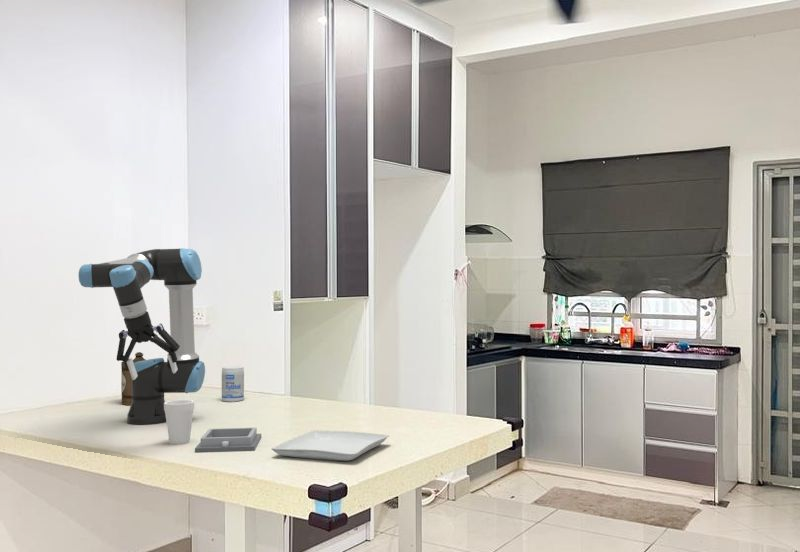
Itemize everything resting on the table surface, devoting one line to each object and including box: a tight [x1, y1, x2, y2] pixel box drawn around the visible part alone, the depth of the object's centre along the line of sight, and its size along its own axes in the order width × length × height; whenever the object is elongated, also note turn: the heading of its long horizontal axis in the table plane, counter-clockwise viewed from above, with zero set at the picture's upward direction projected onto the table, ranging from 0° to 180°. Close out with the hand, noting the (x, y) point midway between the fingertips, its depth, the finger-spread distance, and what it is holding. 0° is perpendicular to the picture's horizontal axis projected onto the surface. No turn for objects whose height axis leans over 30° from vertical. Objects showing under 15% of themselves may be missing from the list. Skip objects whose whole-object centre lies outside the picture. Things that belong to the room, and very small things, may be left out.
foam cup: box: [164, 399, 195, 445], centre depth 247 cm, size 10×9×13 cm
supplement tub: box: [221, 365, 245, 403], centre depth 332 cm, size 10×10×15 cm
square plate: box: [271, 430, 390, 462], centre depth 231 cm, size 27×27×4 cm
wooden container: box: [120, 351, 146, 406], centre depth 329 cm, size 15×15×22 cm
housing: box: [194, 426, 262, 453], centre depth 243 cm, size 20×18×4 cm
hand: (155, 374), depth 243 cm, fingers open, 13 cm apart
